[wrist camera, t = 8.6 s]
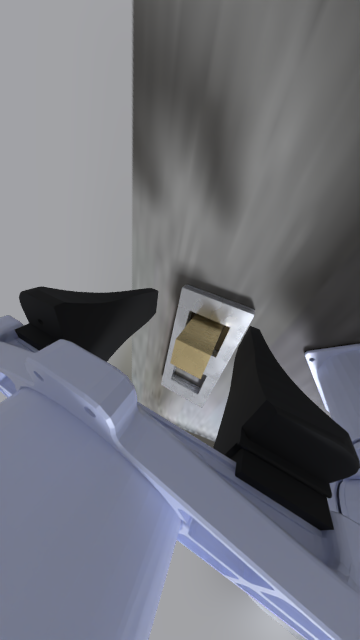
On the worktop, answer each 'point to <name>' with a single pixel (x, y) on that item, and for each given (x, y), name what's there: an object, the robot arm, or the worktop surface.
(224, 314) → the silver plate with holes
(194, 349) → the brass peg
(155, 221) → the worktop surface
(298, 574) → the robot arm
